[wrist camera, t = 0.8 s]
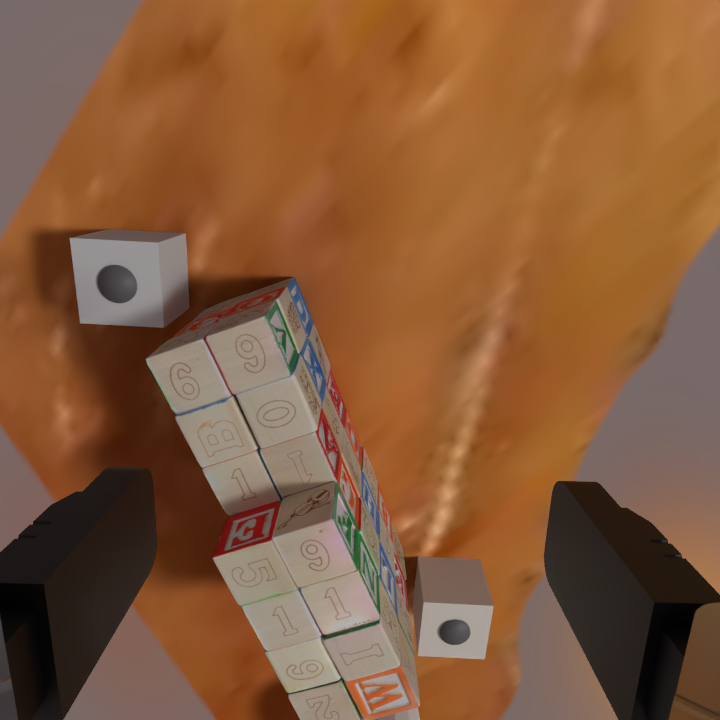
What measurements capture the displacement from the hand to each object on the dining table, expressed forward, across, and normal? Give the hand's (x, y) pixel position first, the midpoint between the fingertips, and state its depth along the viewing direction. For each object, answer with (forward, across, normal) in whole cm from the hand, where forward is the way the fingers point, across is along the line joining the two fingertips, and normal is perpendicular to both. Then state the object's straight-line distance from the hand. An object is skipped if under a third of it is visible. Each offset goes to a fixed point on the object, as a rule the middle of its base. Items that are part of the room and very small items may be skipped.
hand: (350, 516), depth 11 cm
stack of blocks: (+24, +3, +9) cm, 26 cm away
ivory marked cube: (+25, -7, +20) cm, 33 cm away
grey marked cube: (+23, +12, -2) cm, 27 cm away
